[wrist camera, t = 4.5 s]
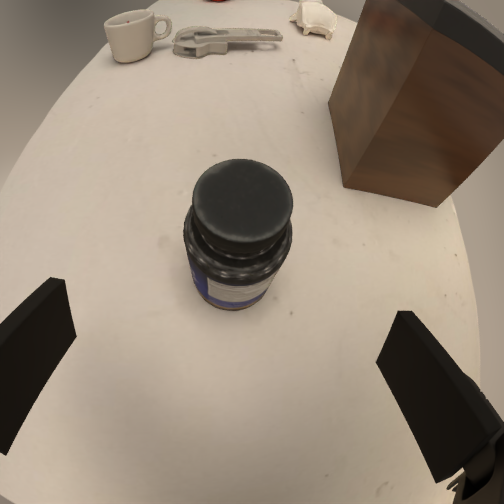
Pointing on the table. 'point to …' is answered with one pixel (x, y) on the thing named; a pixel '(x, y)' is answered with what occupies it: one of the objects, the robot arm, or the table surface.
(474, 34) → the scale
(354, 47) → the stand
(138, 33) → the cup
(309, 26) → the white turtle figurine
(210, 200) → the pill bottle
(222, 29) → the zipper pull
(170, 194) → the table surface
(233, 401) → the table surface
